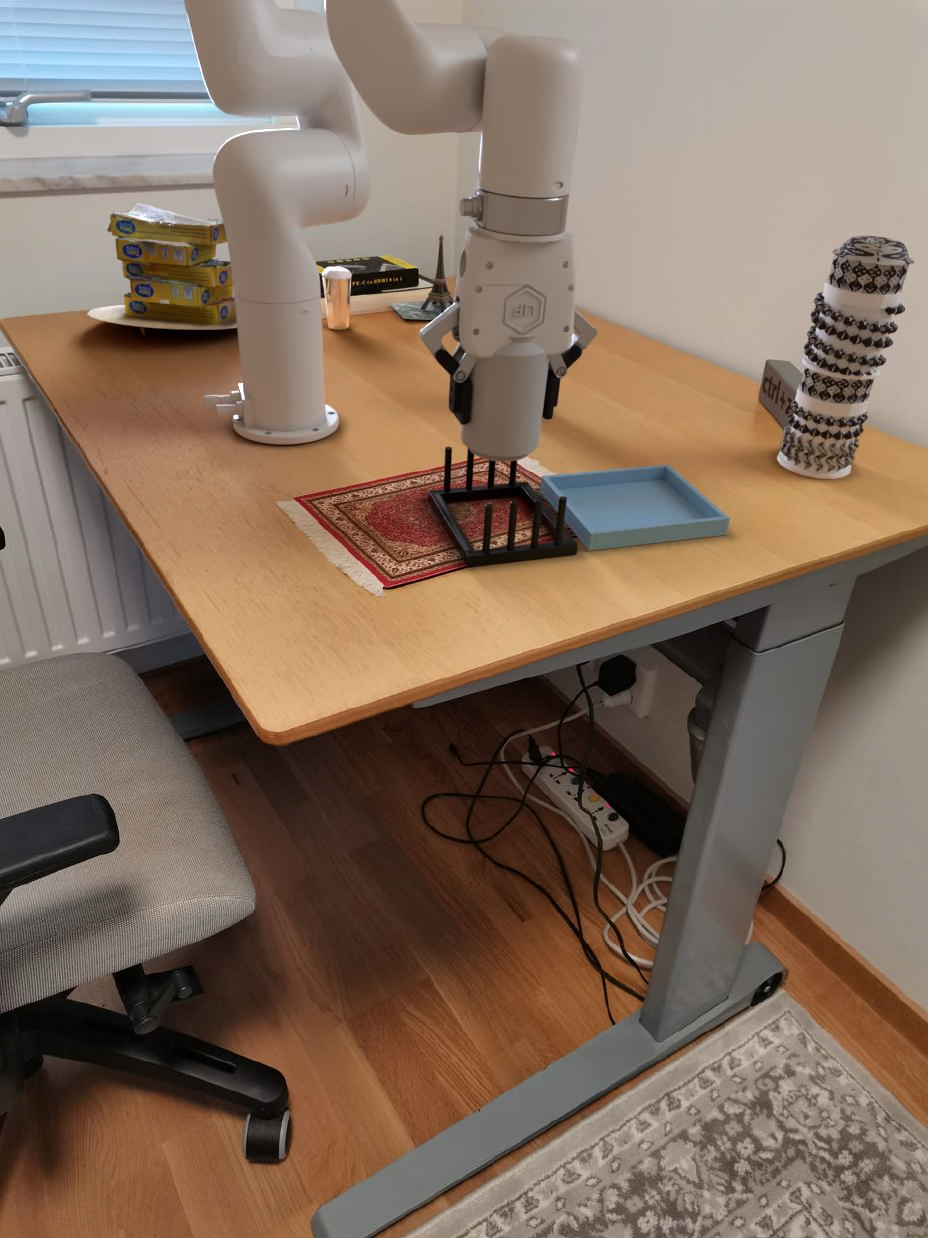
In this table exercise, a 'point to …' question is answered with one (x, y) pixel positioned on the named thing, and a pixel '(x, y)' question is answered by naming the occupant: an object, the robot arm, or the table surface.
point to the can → (507, 401)
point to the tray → (633, 507)
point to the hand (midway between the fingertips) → (502, 415)
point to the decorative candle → (844, 356)
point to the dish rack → (542, 513)
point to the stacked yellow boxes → (171, 272)
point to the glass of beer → (337, 296)
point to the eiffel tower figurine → (429, 296)
